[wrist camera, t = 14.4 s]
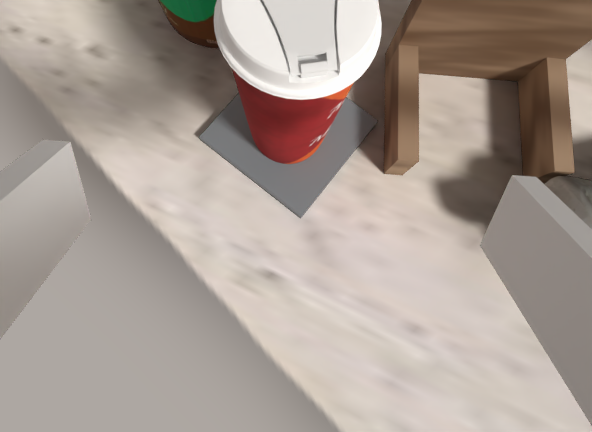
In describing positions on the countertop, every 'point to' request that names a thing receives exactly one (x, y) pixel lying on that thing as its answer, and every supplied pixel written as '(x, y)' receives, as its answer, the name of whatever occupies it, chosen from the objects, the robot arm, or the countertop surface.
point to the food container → (192, 20)
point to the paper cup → (295, 65)
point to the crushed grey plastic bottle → (574, 195)
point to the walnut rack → (489, 70)
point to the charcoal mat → (288, 177)
